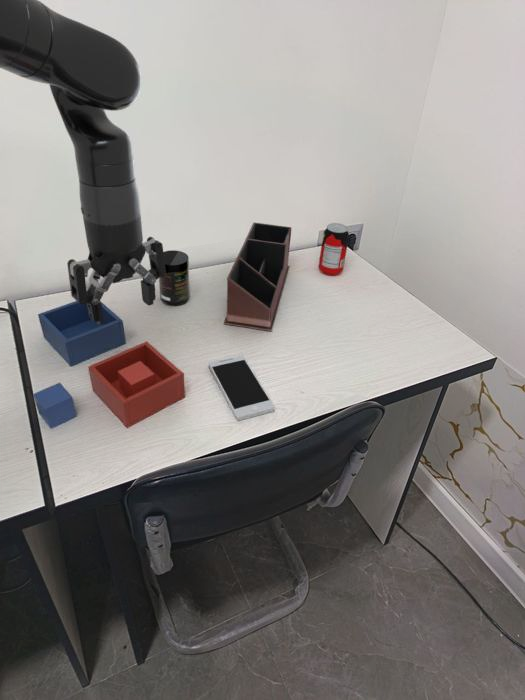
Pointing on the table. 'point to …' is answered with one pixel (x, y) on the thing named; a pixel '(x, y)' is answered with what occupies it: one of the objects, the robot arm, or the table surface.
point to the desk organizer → (258, 277)
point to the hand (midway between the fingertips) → (124, 311)
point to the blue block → (55, 405)
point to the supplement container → (175, 278)
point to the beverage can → (333, 249)
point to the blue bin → (81, 332)
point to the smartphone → (241, 387)
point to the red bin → (145, 401)
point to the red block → (135, 378)
